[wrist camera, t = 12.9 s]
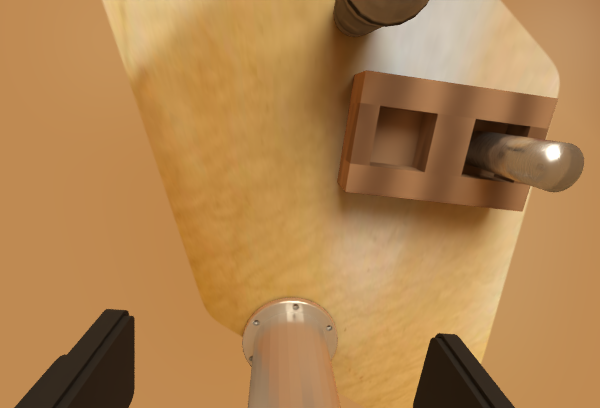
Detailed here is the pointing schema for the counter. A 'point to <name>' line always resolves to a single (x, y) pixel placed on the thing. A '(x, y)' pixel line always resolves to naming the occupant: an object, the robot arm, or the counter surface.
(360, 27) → the beverage cup
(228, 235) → the counter surface
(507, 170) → the steel pin
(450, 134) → the walnut block
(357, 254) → the counter surface
